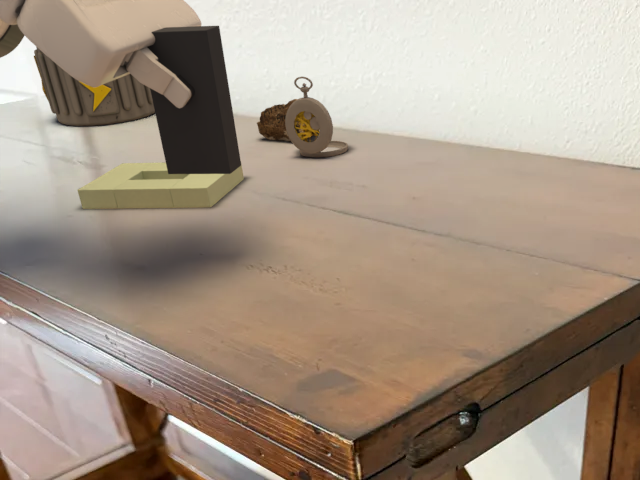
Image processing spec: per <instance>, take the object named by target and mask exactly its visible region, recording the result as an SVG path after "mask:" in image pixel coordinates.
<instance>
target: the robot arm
mask: <svg viewBox="0 0 640 480" xmlns="http://www.w3.org/2000/svg"><path fill="white" fill-rule="evenodd" d="M194 26H202V21H201V18H200V17H199V14H197V12H196V10H195V9H194V8H193V7H192V6H191V5H189V4H188V3H187V2H186V1H185V0H0V59H1V58H3V57H5V56H7V55H10V54H11V53H12V52H13V51H14V50H16V49H17V47H18V46H19V45H20V44H21V43H22V41H23V39H24V38H27V40H28V41H30V43H32V44H33V45H34V46H35V47H37V48H39V49H40V50H41V51H42V52H43V53H44V54H45V55H46V56H48V57H49V58H50V59H51V60H52V61H53V62H55V63H56V64H57V65H58V66H59V67H61V68H62V69H63V70H64V71H65V72H67V73H68V74H69V75H70V76H72V77H73V78H75V79H76V80H78V81H80V82H82V83H84V84H86V85H89V86H91V87H98V86H100V85H103V84H105V83H108V82H110V81H113V80H115V79H118V78H121V77H123V76H126V75H128V74H131V75H132V76H134V77H135V78H136V79H137V80H138V81H139V82H140V83H142V84H143V85H145V86H147V87H149V88H151V89H153V90H154V91H156V92H158V93H160V94H162V95H164V96H165V97H166V98H167V99H168V100H169V101H170V102H171V103H173V104H174V105H175V106H176V107H177V108H182V107H184V106H186V105H188V104H189V103H190V101H191V99H192V98H193V96H194V95H195V90H194V87H193V86H192V85H191V84H189V83H188V82H187V81H186V80H185V79H184V78H183V77H182V76H181V75H178V76H176V75H175V74H174V73H172V72H171V71H170V70H169V69H167V68H166V67H165V66H163V65H162V64H161V63H159V62H158V61H157V60H158V57H157V56H156V55H154V54H153V53H152V52H151V51H150V50H149V49H148V48H147V47H148V46H151V45H153V44H154V43H155V37H154V35H153V34H152V32H153V31H156V30H159V29H162V28H166V27H194ZM37 48H36V49H37Z"/></svg>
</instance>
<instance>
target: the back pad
mask: <svg viewBox="0 0 640 480" xmlns="http://www.w3.org/2000/svg"><path fill="white" fill-rule="evenodd" d="M152 34H153V35H154V37H155V43H154V44H153V45H151V46H148V47H147V48H148V49H149V50H150V51H151V52H152V53H153V54H154V55H156V56H157V57H158V60H157V61H158V62H159V63H161V64H162V65H163V66H165V67H166V68H167V69H169V70H170V71H171V72H172V73H174V74H175V75H176V76H178V75H181V76H182V77H183V78H184V79H185V80H186V81H187V82H188V83H189V84H191V85H192V86H193V87H194V90H195V95H194V96H193V98H192V99H191V101H190V103H189V104H188V105H186V106H184V107H182V108H177V107H176V106H175V105H174V104H173V103H171V102H170V101H169V100H168V99H167V98H166V97H165V96H164V95H162V94H160V93H158V92H156V91H154V90H153V89H151V88H150V91H151V95H152V100H153V105H154V109H155V113H154V114H155V118H156V123H157V127H158V132H159V137H160V141H161V147H162V151H163V155H164V160H165V161H164V162H166V166H167V171H168V174H231V173H232V172H233V171H235V170H236V169H237V168H238V167H240V166H241V164H242V160H241V154H240V149H239V142H238V135H237V129H236V123H235V116H234V111H233V104H232V98H231V92H230V85H229V79H228V73H227V67H226V60H225V54H224V47H223V42H222V41H223V40H222V36H221V35H222V34H221V29H220V25H201V26H194V27H166V28H162V29H159V30H156V31H153V32H152Z"/></svg>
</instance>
